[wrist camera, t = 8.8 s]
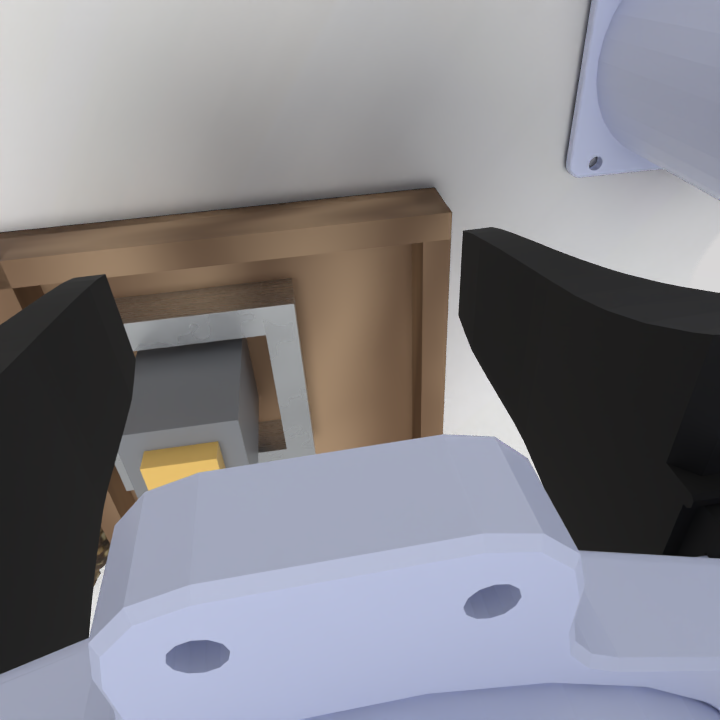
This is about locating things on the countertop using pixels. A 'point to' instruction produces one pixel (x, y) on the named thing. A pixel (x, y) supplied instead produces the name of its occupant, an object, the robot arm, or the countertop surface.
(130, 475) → the block
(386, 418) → the tray
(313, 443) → the socket
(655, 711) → the robot arm
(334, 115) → the countertop surface
